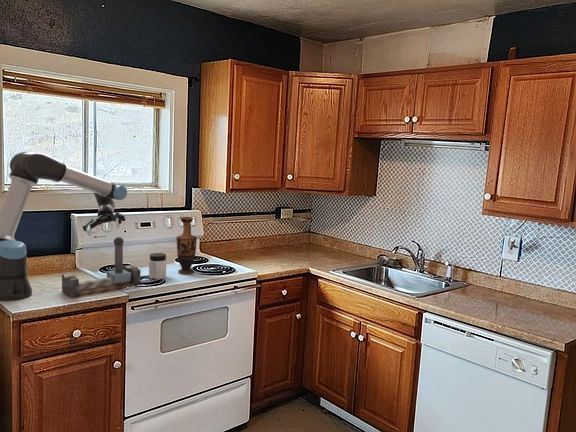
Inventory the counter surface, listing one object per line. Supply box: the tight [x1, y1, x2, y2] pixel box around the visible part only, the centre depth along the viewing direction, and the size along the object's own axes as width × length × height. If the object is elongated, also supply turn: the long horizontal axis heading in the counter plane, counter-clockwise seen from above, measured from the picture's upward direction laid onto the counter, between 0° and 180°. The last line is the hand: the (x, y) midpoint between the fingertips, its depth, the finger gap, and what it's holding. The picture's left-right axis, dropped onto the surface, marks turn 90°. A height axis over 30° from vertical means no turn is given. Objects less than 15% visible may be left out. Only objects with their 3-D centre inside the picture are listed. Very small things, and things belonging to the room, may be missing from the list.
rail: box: [61, 264, 141, 299], centre depth 227 cm, size 34×12×9 cm, turn 134°
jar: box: [148, 252, 167, 280], centre depth 250 cm, size 9×8×12 cm
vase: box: [176, 216, 198, 275], centre depth 261 cm, size 11×11×30 cm
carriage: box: [106, 236, 131, 283], centre depth 231 cm, size 8×9×21 cm
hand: (103, 229), depth 233 cm, fingers open, 13 cm apart
